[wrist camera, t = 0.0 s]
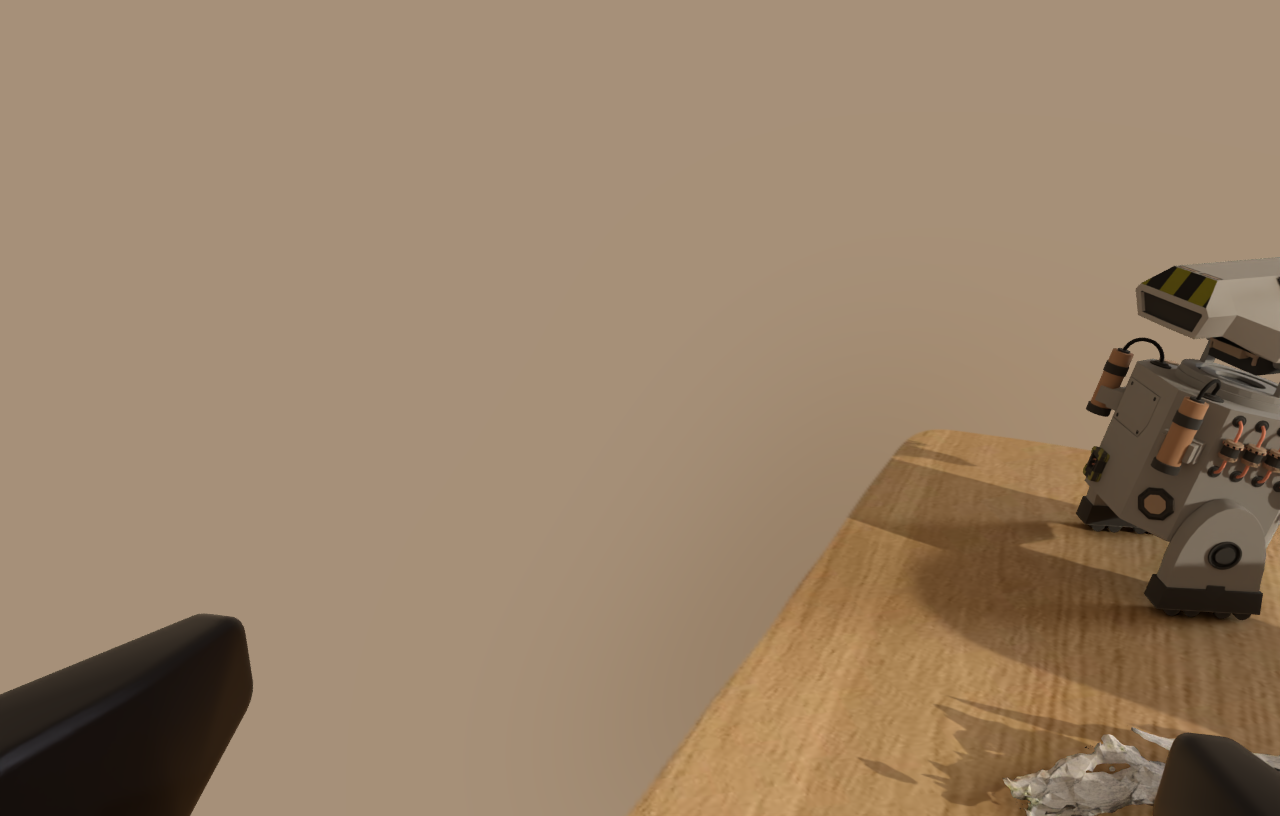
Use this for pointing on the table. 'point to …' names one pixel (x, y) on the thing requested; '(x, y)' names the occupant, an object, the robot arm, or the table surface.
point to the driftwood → (1097, 780)
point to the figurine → (1197, 438)
